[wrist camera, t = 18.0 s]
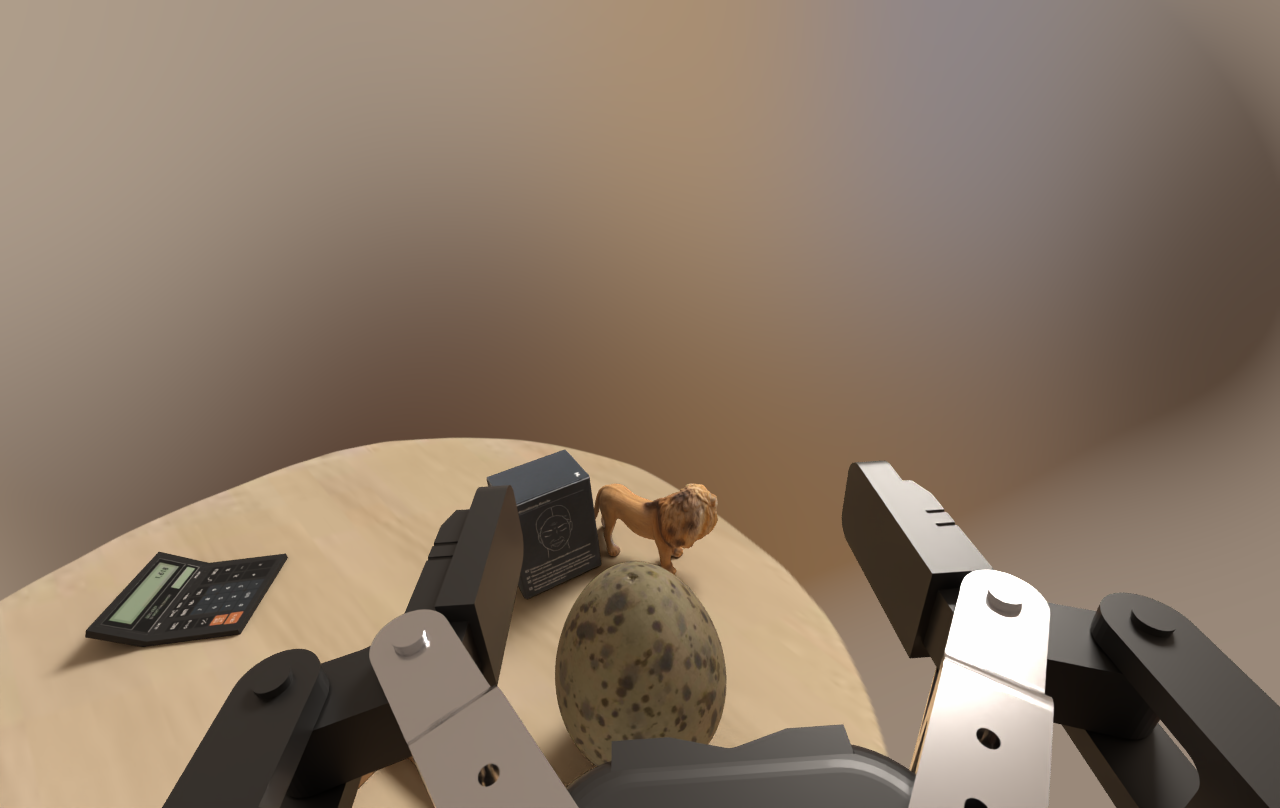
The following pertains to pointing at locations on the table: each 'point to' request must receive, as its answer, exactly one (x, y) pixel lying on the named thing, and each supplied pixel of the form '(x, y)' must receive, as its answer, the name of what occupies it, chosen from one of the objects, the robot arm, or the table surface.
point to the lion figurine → (659, 518)
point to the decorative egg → (638, 662)
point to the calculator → (186, 600)
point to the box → (553, 520)
